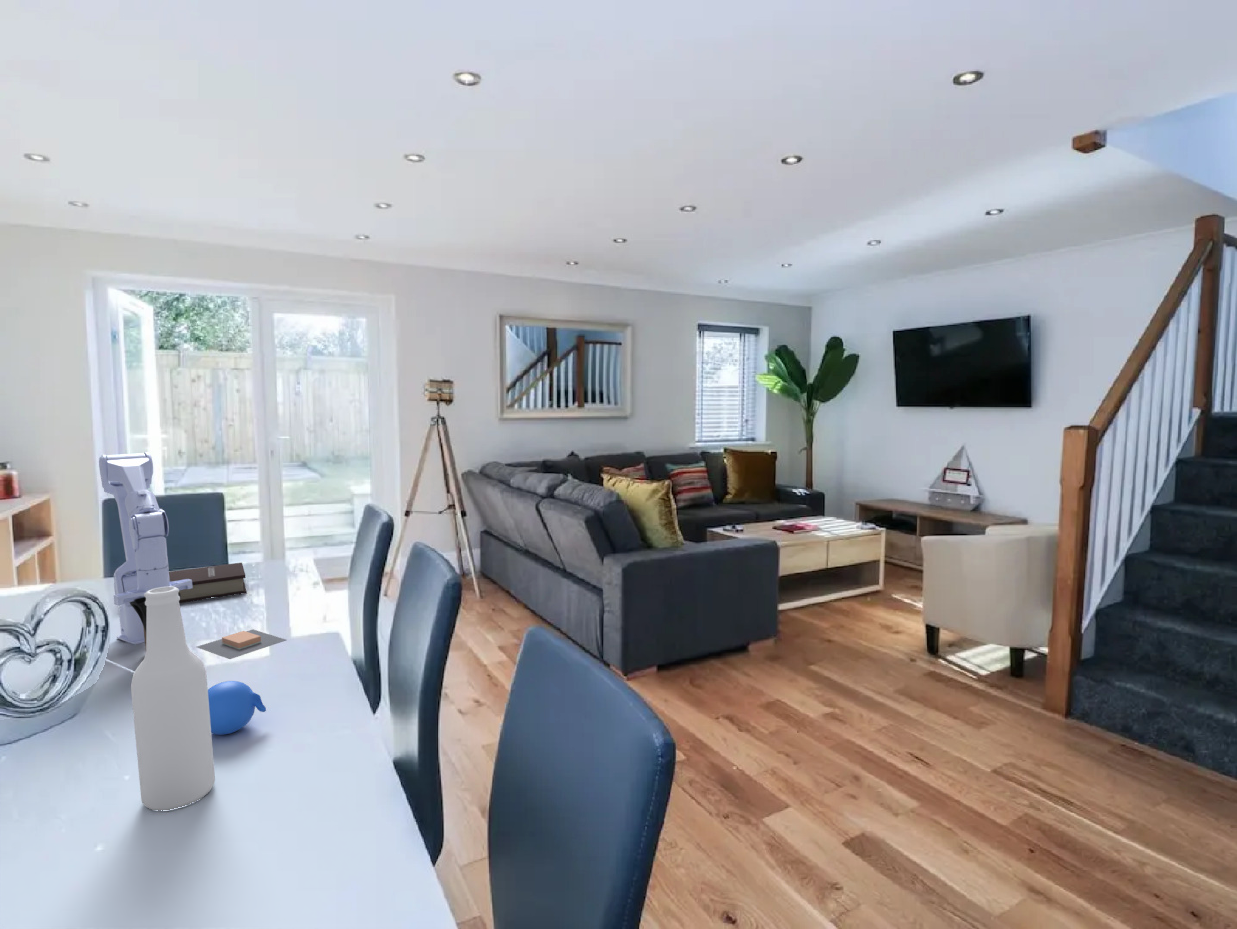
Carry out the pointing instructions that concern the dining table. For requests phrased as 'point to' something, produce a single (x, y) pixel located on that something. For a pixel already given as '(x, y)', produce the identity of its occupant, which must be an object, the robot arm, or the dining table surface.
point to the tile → (241, 640)
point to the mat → (232, 652)
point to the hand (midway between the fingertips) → (157, 628)
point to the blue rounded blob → (232, 706)
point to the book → (211, 581)
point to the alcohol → (171, 711)
